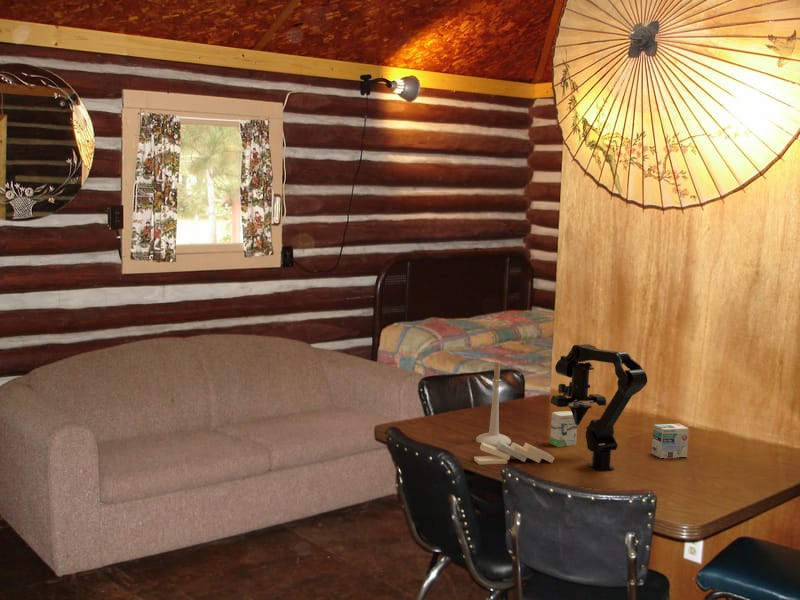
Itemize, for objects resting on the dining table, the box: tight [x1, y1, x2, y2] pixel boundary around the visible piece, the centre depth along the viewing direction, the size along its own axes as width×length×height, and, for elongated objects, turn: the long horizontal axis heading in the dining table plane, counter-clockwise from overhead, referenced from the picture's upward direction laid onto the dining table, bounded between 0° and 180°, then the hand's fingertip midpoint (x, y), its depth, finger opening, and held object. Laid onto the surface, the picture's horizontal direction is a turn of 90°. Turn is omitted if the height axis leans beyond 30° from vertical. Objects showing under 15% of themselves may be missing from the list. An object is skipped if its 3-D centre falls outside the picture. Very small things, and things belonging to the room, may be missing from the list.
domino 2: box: [473, 455, 508, 465], centre depth 302 cm, size 5×2×10 cm
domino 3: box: [496, 441, 528, 463], centre depth 305 cm, size 5×2×10 cm
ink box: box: [549, 410, 578, 448], centre depth 326 cm, size 9×5×12 cm, turn 117°
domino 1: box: [479, 442, 511, 461], centre depth 305 cm, size 5×2×10 cm
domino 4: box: [509, 441, 542, 464], centre depth 305 cm, size 5×2×10 cm
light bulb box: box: [651, 423, 690, 459], centre depth 317 cm, size 11×7×11 cm, turn 105°
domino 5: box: [522, 442, 555, 464], centre depth 305 cm, size 5×2×10 cm
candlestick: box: [475, 360, 512, 447], centre depth 326 cm, size 13×13×30 cm
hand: (577, 424), depth 310 cm, fingers closed
